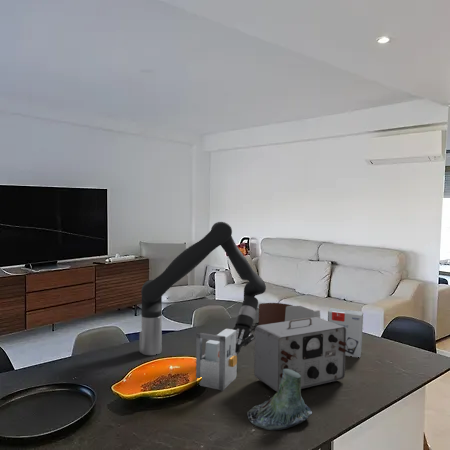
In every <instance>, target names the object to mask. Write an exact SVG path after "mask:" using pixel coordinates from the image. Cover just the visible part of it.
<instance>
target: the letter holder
mask: <svg viewBox="0 0 450 450" xmlns="http://www.w3.org/2000/svg"><path fill="white" fill-rule="evenodd" d="M287 306H294V305H293V304H290V303H281V302H263V303H258V325H264V324H271V323H278V322H285V312H286V307H287Z"/></svg>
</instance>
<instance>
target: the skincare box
mask: <svg viewBox="0 0 450 450" xmlns="http://www.w3.org/2000/svg"><path fill="white" fill-rule="evenodd" d="M216 335H219V336H225V359H226V358H228V357H229V356H230V355H231V354H233V353H234V352H235V348H236V330H233V329H232V328H225V329H223V330H221V331H220V332H219V333H218V334H216ZM219 348H220V341H214V340H207V341H206V342H205V348H204V350H205V351H204V354H205V359H206V360H211V361H216V362H219Z"/></svg>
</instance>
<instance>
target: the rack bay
mask: <svg viewBox="0 0 450 450" xmlns="http://www.w3.org/2000/svg"><path fill="white" fill-rule="evenodd" d="M203 340H207V341H209V340H214V341H220V348H219V362H216V361H211V360H206V359H205V353H204V354H203ZM195 342H196V349H195V350H196V351H195V352H196V353H195V354H196V356H195V358H196V359H195V363H196V365H195V368H196V369H195V380H196V379H197V378H200V377H202V380H201V381H200V382H199V385H200V386H201V387H205V388H210V389H214V390H219V391H224V390H226V389H227V387H228V386H229V385H230V384H231V383H232V382H233V381H234V380H236V378H237V372H238V371H237V368H238V367H237V366H238V365H237V364H238V354H237V353H235V352H234V353H233V354H231V355H230V356H229V357H228V358H226V359H225V336H219V335H217V334H211V333H205V332H199V331H198V332H196V340H195ZM200 386H199V387H200Z"/></svg>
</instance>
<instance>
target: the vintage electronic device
mask: <svg viewBox="0 0 450 450" xmlns="http://www.w3.org/2000/svg"><path fill="white" fill-rule="evenodd" d="M254 337H255V339H254V367H253V369H254V370H253V371H254V372H253V374H254V377H255V378H256V379H258V380H259V381H260V382H261V383H263V384H265V385H266V386H268V387H269V388H270V389H272V390H274V391H275V393H277V392H278V390H279V386H280V383H281V379H282V375H283V369H290V370H293V371H295V372H297V373H299V374H300V375H301V390H302V389H306V388H310V387H311V388H312V387H315V386H320V385H323V384H328V383H331V382H332V383H337V382H338V381H340V380H343V379H344V378H345V377H346V376H345V375H346V356H345V352H346V328H345V327H343V326H340V325H337V324H335V323H332V322H329V321H328V319H324V318H322V317H320V318H319V317H313V318H310V317H308V318H301V319H294V320H290V321H285V322H278V323H271V324H264V325H259V324H257V325H256V326H255V327H254Z"/></svg>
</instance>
